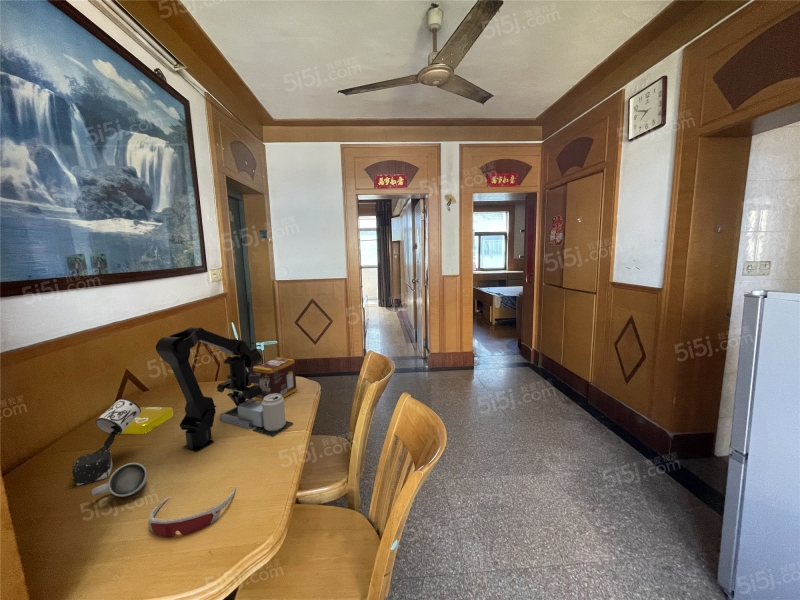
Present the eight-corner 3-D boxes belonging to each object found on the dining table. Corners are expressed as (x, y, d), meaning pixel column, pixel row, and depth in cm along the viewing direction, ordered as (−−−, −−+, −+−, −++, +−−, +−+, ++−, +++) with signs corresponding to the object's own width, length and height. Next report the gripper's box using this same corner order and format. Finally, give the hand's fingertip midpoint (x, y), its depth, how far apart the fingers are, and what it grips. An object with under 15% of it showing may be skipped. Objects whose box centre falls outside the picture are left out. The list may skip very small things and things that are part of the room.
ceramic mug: (141, 496, 90) (151, 465, 94) (139, 496, 84) (151, 463, 88) (92, 496, 85) (105, 463, 89) (86, 496, 79) (101, 461, 83)
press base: (272, 437, 115) (272, 429, 114) (219, 422, 127) (219, 414, 126) (293, 424, 124) (292, 416, 123) (242, 410, 136) (241, 403, 135)
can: (281, 432, 117) (279, 400, 116) (260, 432, 117) (258, 401, 116) (288, 421, 125) (286, 391, 123) (268, 422, 125) (266, 392, 123)
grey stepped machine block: (261, 427, 120) (259, 409, 119) (238, 420, 125) (237, 404, 124) (274, 419, 125) (272, 403, 124) (251, 413, 130) (250, 397, 129)
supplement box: (255, 400, 145) (252, 367, 143) (280, 387, 159) (277, 356, 157) (272, 404, 141) (269, 369, 139) (297, 390, 155) (294, 359, 153)
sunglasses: (132, 550, 71) (131, 527, 71) (171, 505, 87) (170, 486, 88) (218, 536, 74) (218, 513, 74) (240, 495, 91) (239, 477, 91)
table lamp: (111, 400, 106) (103, 393, 99) (146, 404, 110) (141, 398, 102) (67, 489, 94) (54, 490, 86) (109, 491, 97) (100, 492, 89)
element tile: (176, 416, 133) (174, 405, 132) (145, 437, 118) (143, 424, 117) (141, 416, 134) (140, 405, 133) (106, 436, 119) (104, 424, 119)
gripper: (271, 368, 129) (274, 405, 131) (239, 362, 137) (242, 397, 139) (248, 378, 119) (251, 418, 121) (214, 371, 127) (218, 408, 129)
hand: (241, 409), depth 128 cm, fingers closed
